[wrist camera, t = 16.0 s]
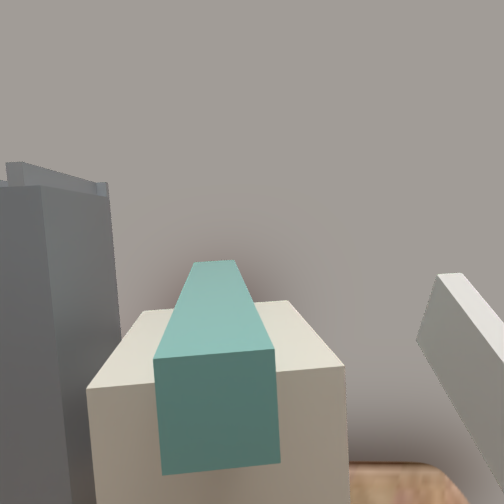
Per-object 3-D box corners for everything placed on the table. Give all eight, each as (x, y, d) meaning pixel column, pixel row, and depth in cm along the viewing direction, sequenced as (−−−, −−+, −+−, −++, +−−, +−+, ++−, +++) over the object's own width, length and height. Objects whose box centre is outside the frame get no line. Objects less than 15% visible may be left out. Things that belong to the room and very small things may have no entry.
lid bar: (162, 475, 13) (152, 359, 12) (196, 301, 38) (193, 262, 38) (280, 462, 13) (274, 348, 12) (236, 298, 38) (234, 259, 38)
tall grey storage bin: (-53, 639, 29) (-115, 167, 26) (48, 478, 47) (18, 187, 44) (83, 621, 30) (37, 161, 27) (132, 469, 48) (108, 182, 45)
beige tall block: (122, 780, 21) (85, 388, 19) (161, 538, 37) (143, 310, 35) (359, 741, 22) (344, 365, 20) (298, 522, 38) (287, 300, 36)
